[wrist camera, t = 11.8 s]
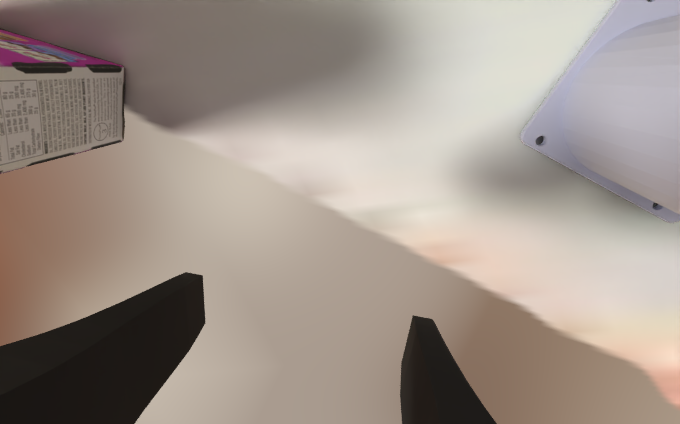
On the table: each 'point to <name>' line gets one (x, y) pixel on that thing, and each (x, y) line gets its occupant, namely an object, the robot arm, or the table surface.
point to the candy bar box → (55, 102)
